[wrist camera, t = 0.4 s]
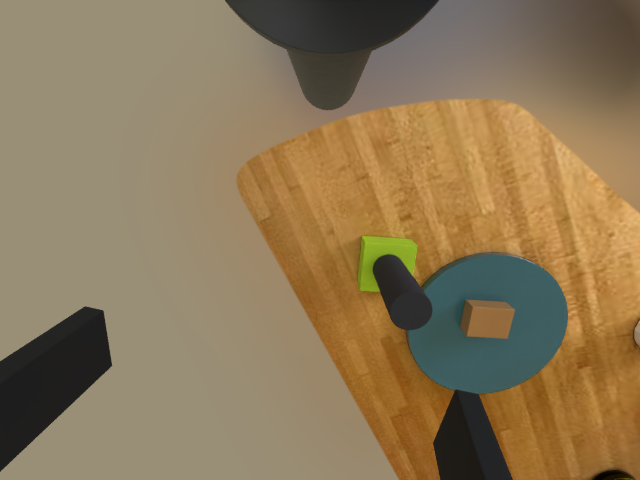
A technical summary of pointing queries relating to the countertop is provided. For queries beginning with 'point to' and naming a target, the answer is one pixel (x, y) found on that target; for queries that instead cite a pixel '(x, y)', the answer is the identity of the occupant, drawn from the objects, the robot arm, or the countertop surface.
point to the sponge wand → (394, 279)
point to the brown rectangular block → (487, 319)
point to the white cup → (637, 334)
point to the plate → (480, 352)
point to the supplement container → (614, 475)
